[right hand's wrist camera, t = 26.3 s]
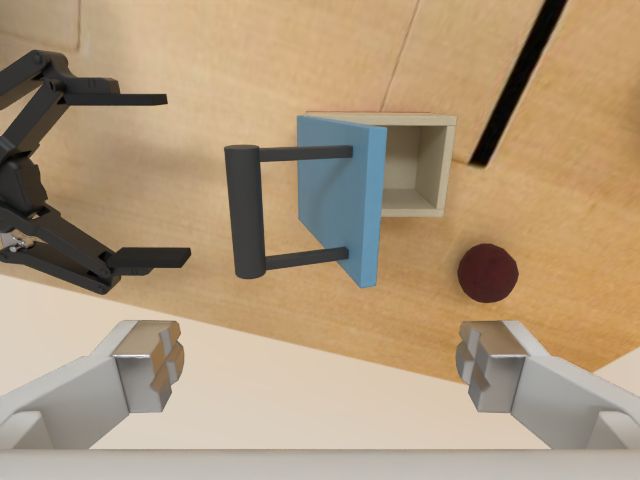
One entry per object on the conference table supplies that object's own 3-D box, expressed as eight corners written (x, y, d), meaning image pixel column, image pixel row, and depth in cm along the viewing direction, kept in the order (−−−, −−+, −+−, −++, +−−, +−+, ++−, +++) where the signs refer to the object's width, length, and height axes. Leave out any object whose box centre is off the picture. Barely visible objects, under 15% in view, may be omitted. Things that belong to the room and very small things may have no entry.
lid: (387, 127, 20) (226, 130, 17) (376, 286, 24) (241, 308, 21) (308, 115, 33) (210, 116, 31) (309, 218, 37) (221, 226, 34)
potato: (452, 289, 52) (471, 317, 45) (448, 241, 49) (467, 263, 43) (503, 280, 51) (530, 307, 45) (502, 231, 49) (530, 251, 42)
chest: (427, 112, 43) (457, 116, 34) (418, 193, 47) (443, 217, 38) (306, 111, 43) (302, 115, 34) (307, 193, 47) (303, 216, 37)
